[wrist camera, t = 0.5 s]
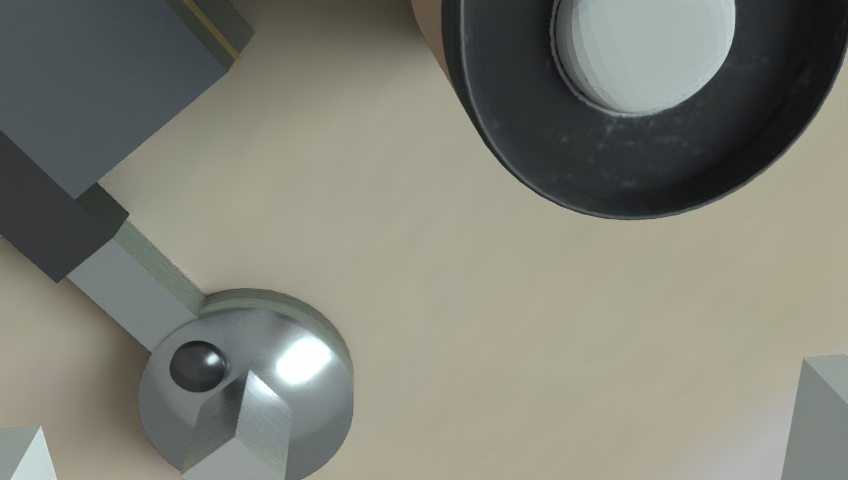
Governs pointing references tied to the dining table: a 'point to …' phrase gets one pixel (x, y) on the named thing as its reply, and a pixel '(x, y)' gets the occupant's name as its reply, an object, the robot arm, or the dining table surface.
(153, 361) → the ratchet
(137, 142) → the gold-striped grey cube
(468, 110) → the travel mug
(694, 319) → the dining table surface
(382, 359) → the dining table surface
